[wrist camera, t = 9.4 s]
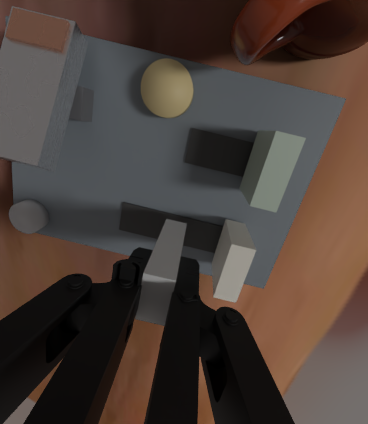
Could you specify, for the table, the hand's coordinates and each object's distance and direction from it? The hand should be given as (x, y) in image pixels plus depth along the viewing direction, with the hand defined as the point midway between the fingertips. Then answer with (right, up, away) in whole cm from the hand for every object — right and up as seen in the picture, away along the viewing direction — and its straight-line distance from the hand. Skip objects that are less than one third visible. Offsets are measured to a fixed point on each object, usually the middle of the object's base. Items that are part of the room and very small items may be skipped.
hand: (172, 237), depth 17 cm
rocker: (-8, +9, -4) cm, 12 cm away
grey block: (+6, +5, -1) cm, 8 cm away
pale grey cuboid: (+4, -1, +1) cm, 4 cm away
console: (-1, +6, +3) cm, 7 cm away
